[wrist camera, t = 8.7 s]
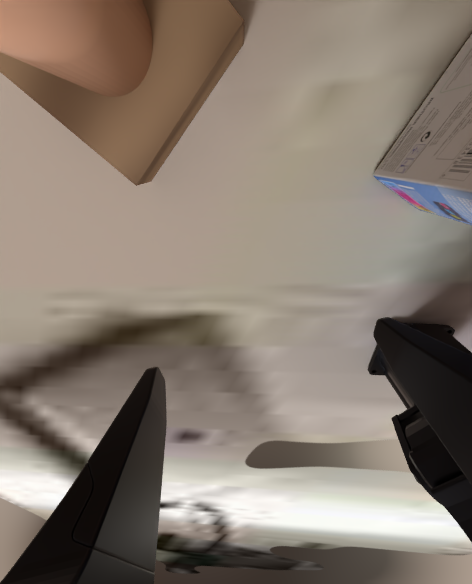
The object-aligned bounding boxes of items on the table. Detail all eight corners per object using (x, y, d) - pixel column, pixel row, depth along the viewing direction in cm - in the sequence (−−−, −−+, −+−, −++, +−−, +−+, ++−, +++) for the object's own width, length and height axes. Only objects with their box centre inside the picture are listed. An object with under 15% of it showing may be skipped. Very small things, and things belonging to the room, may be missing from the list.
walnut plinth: (243, 44, 15) (243, 20, 12) (151, 181, 18) (136, 185, 16) (85, -150, 12) (39, -240, 9) (12, 62, 15) (-35, 42, 13)
